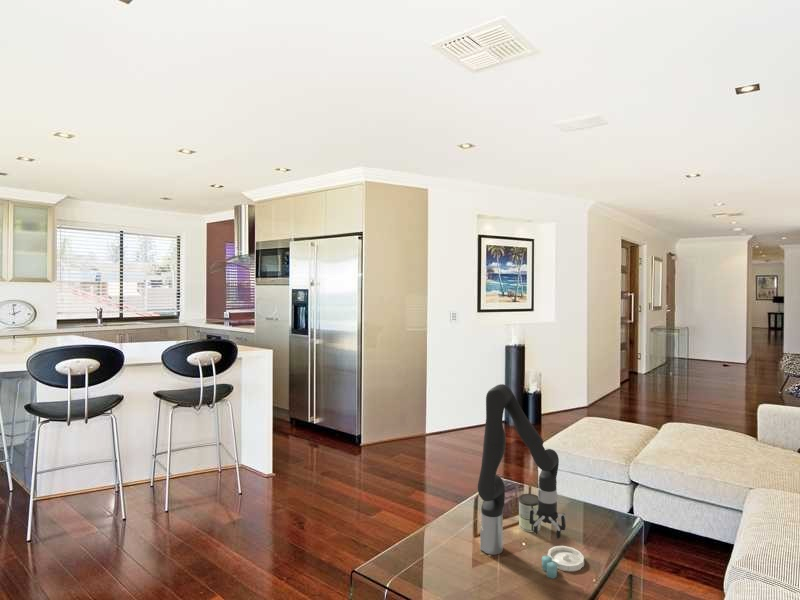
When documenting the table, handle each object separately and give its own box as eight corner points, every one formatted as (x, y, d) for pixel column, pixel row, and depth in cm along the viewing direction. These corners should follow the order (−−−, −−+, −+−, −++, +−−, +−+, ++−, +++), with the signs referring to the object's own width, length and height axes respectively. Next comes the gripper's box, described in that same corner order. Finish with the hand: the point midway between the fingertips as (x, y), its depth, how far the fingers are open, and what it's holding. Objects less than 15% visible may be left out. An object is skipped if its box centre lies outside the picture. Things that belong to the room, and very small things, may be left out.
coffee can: (522, 519, 257) (522, 491, 255) (543, 524, 251) (543, 496, 250) (515, 528, 248) (515, 500, 247) (536, 534, 242) (536, 505, 241)
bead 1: (541, 570, 216) (541, 560, 215) (542, 564, 219) (542, 554, 219) (551, 572, 214) (551, 562, 214) (552, 567, 218) (552, 556, 217)
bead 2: (545, 577, 211) (545, 566, 211) (547, 571, 215) (547, 561, 214) (556, 579, 210) (556, 569, 209) (557, 573, 213) (557, 563, 213)
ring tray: (544, 566, 218) (544, 561, 218) (550, 547, 232) (550, 542, 232) (582, 574, 212) (582, 569, 212) (585, 554, 226) (585, 549, 225)
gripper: (528, 499, 214) (528, 537, 215) (564, 505, 208) (564, 544, 209) (531, 491, 220) (531, 528, 222) (566, 497, 215) (566, 534, 216)
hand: (547, 535), depth 216 cm, fingers open, 8 cm apart
